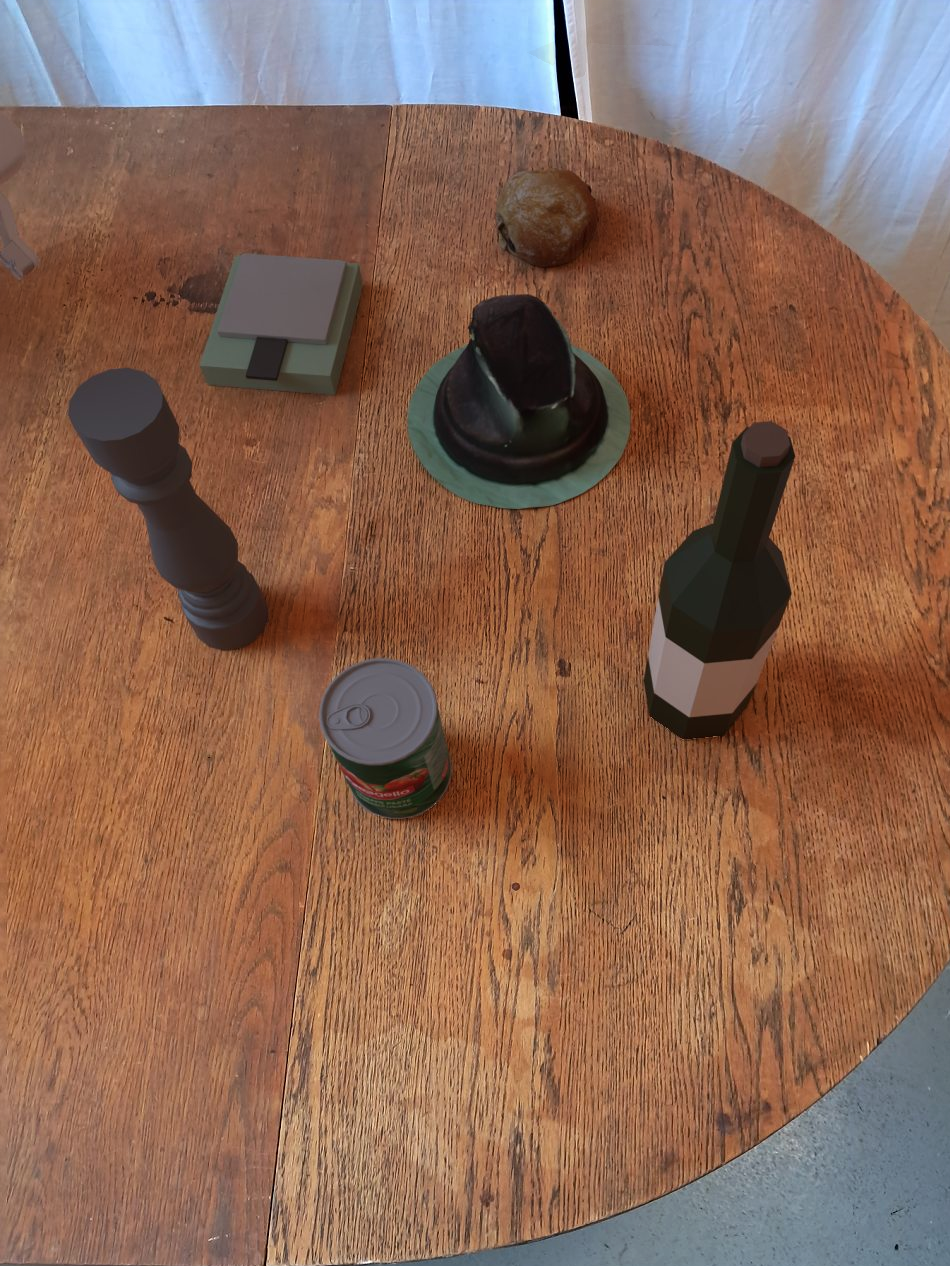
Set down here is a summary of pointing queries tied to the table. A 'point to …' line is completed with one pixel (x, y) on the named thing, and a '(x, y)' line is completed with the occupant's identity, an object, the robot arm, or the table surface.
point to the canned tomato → (387, 737)
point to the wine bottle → (722, 596)
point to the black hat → (518, 411)
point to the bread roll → (546, 216)
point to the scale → (283, 324)
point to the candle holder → (169, 504)
